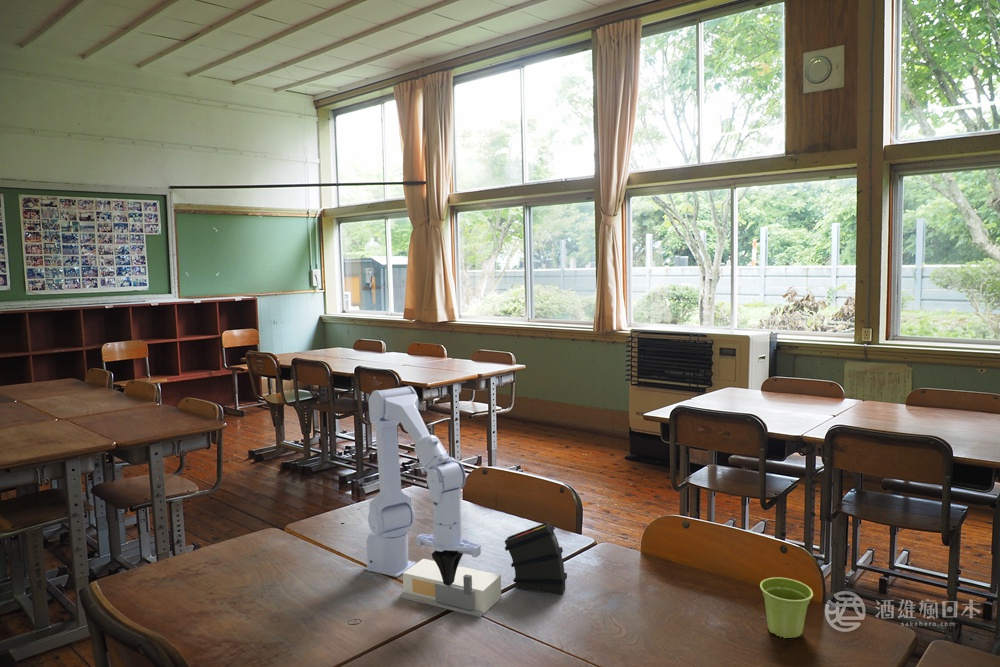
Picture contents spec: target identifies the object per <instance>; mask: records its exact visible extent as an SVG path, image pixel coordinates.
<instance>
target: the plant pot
mask: <svg viewBox="0 0 1000 667" xmlns="http://www.w3.org/2000/svg"><path fill="white" fill-rule="evenodd" d="M759 583H760V584H759V588H760V590H761V591H762V595H763V597H764V604H765V614H766V622H767V629H769V630H768V632H769V633H771V634H774V635H776V636H777V637H778V636H780V637H779V638H781V637H784V638H783V639H785V638H792V637H797V638H799V637H801V636H802V635H803V629H804V626H805V619H806V614H807V610H808V605H809V604H810V601H811V599H813V597H814V593H813V590H812V588H811V587H809V586H808V585H807V584H805V583H803V582H801V581H799V580H796V579H791V578H787V577H769V578H766V579H763V580H761V581H760V582H759ZM801 634H802V635H801ZM800 635H801V636H800ZM798 636H799V637H798Z"/></svg>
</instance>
